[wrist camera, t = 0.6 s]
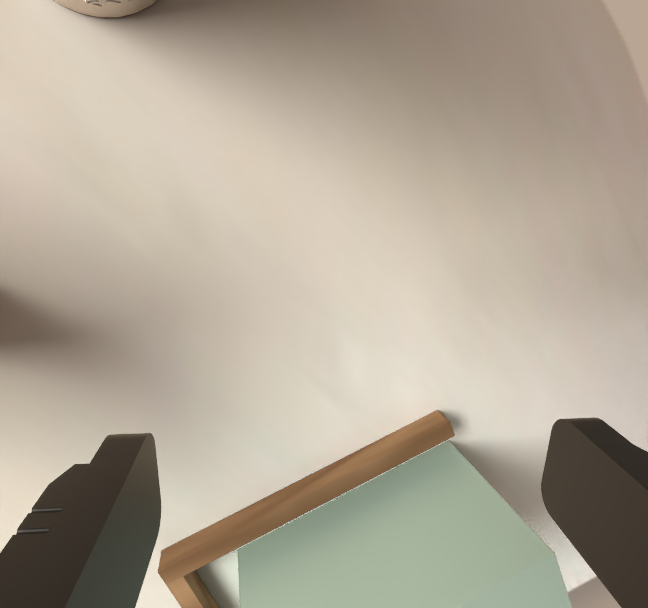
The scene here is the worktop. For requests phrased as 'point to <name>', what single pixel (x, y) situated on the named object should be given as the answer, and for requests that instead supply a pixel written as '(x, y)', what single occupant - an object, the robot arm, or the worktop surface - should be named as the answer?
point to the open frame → (291, 506)
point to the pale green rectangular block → (406, 547)
